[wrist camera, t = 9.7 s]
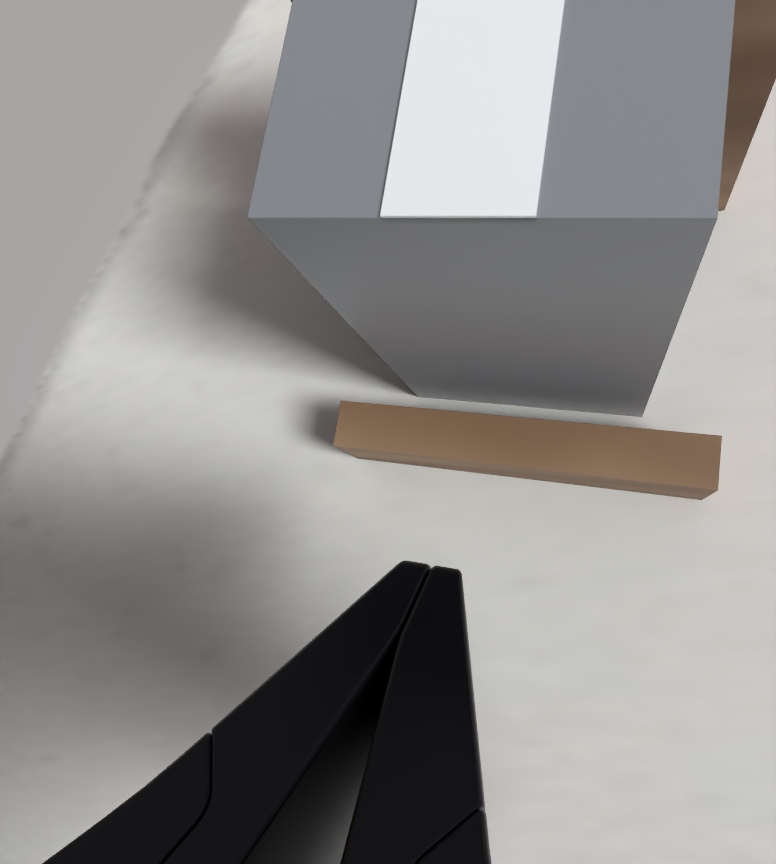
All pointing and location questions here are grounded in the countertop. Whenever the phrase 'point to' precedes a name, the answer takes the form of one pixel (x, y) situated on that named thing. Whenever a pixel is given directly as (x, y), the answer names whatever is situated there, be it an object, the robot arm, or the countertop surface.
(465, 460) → the set of wooden blocks
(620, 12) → the block
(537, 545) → the countertop surface
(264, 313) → the countertop surface
